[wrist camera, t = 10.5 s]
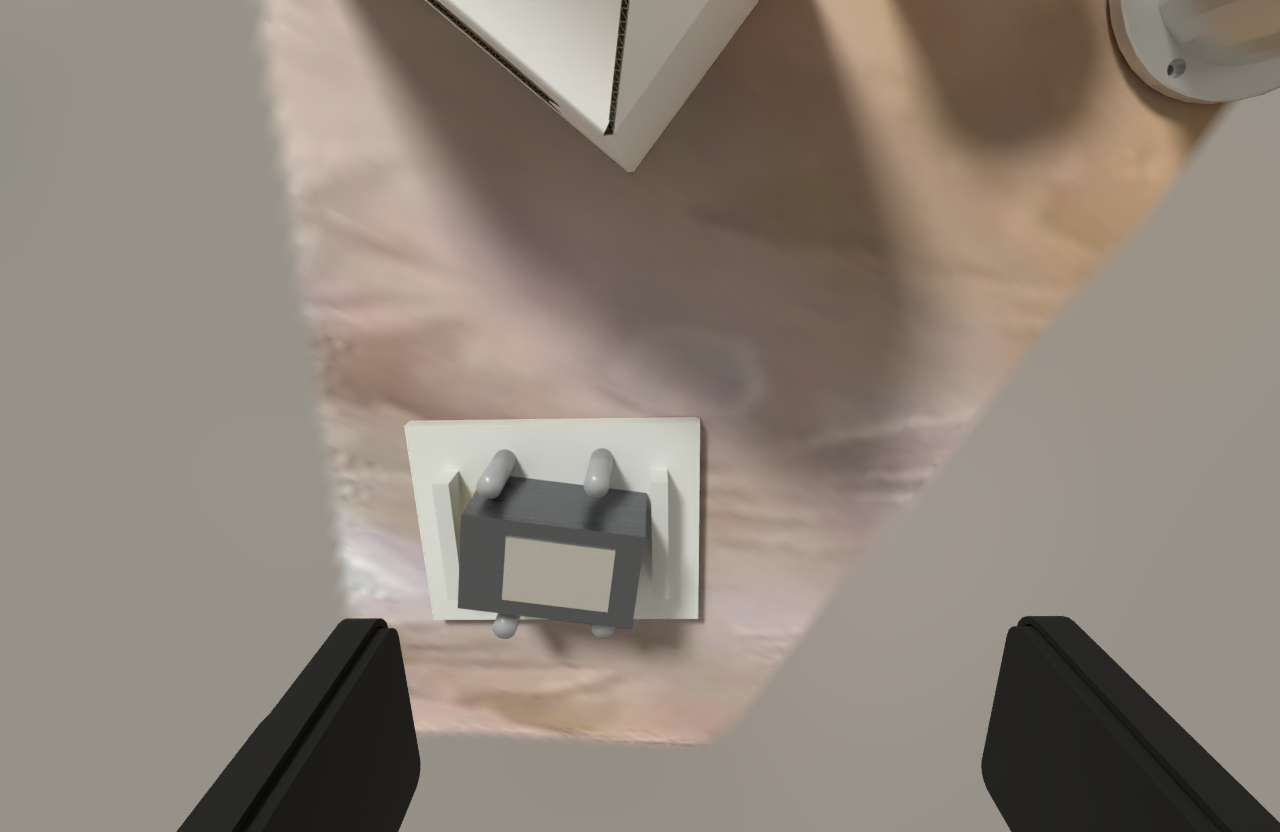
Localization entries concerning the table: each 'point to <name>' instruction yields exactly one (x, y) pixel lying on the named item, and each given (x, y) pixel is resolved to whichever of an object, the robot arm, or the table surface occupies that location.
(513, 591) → the drive
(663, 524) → the peg fixture base
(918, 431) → the table surface
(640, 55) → the gable box
